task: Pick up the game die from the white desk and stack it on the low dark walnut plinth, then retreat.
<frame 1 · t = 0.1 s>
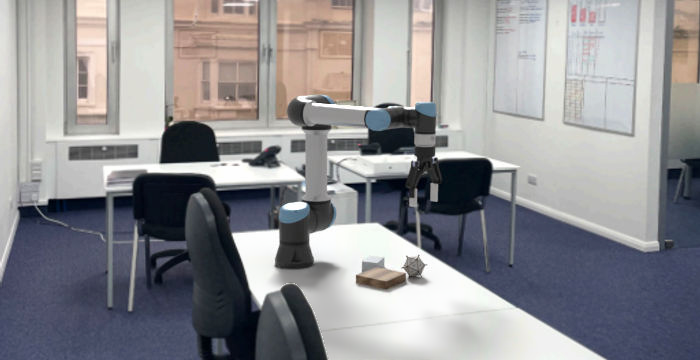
hand: (423, 204, 293), 28 cm above the table, fingers open, 13 cm apart
plinth: (380, 282, 293), on the table
game die: (413, 277, 300), on the table
card box: (373, 269, 310), on the table
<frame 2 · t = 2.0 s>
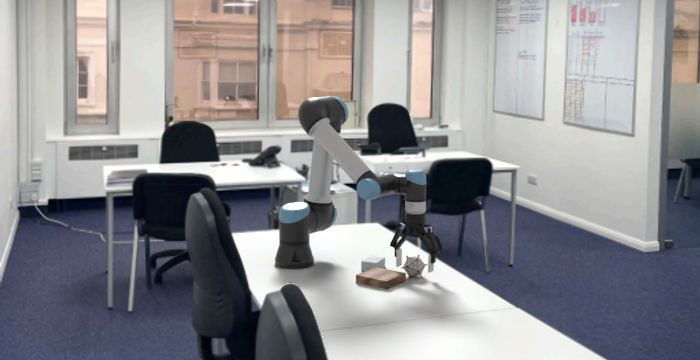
hand: (414, 268, 299), 3 cm above the table, fingers open, 13 cm apart
nothing on the table moved.
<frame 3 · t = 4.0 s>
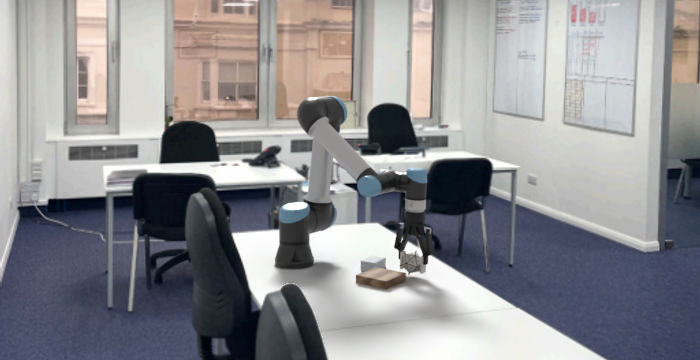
hand: (412, 270, 300), 2 cm above the table, fingers closed on game die, 8 cm apart
game die: (413, 273, 300), point 1 cm above the table, touching gripper
everything else where it was.
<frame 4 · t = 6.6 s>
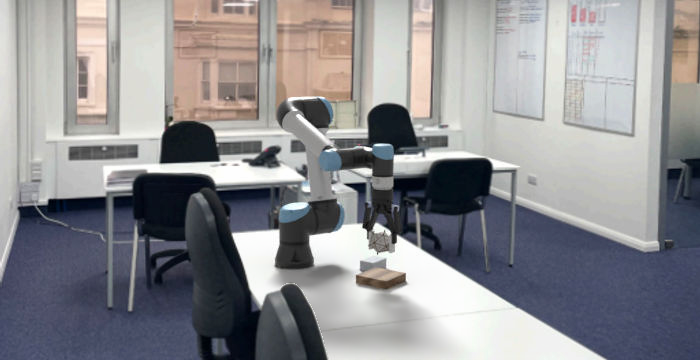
hand: (381, 250, 291), 12 cm above the table, fingers closed on game die, 8 cm apart
game die: (382, 253, 290), point 11 cm above the table, touching gripper
everything else where it was.
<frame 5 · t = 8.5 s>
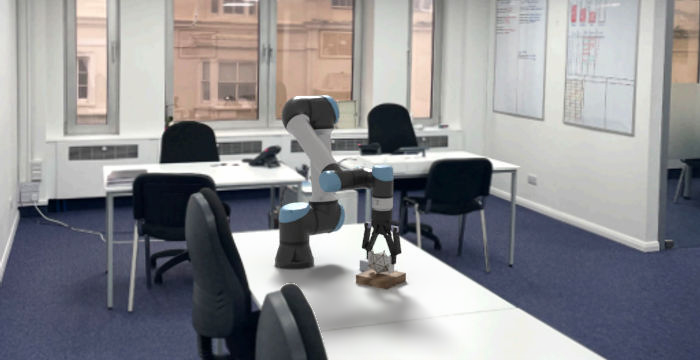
hand: (381, 270, 292), 4 cm above the table, fingers closed on game die, 8 cm apart
game die: (381, 274, 292), point 3 cm above the table, touching gripper
everything else where it was.
when the fingers open (4 cm above the table, at t = 9.0 s): game die stays where it is, resting on plinth.
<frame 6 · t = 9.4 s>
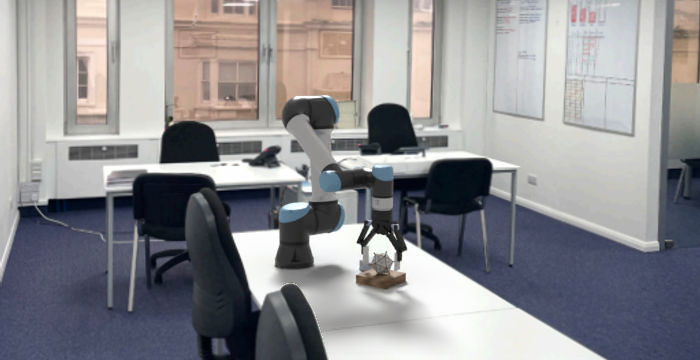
hand: (381, 266, 292), 6 cm above the table, fingers open, 13 cm apart
game die: (381, 274, 292), point 3 cm above the table, touching plinth
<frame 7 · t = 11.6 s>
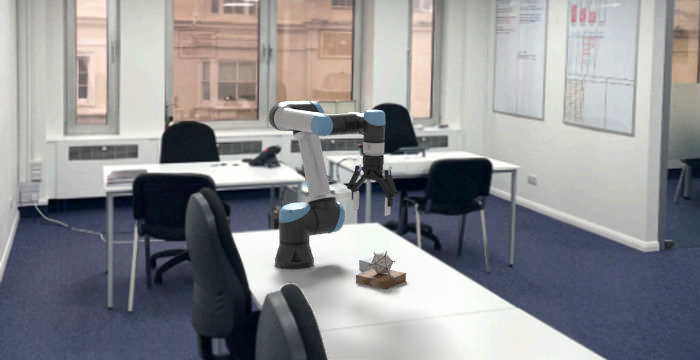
hand: (371, 212, 292), 25 cm above the table, fingers open, 13 cm apart
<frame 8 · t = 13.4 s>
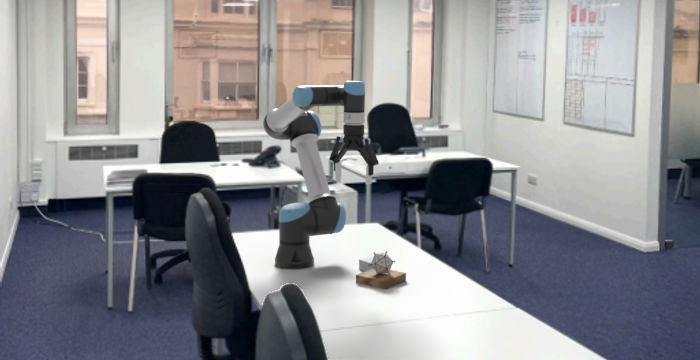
hand: (353, 182, 296), 35 cm above the table, fingers open, 13 cm apart
at the end: game die 0.3 cm from the plinth (horizontally); game die touching plinth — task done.
